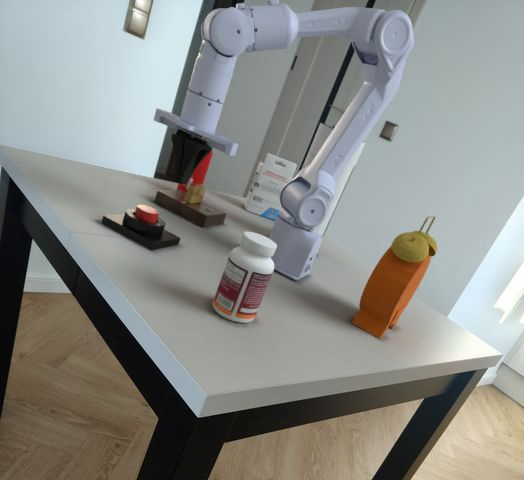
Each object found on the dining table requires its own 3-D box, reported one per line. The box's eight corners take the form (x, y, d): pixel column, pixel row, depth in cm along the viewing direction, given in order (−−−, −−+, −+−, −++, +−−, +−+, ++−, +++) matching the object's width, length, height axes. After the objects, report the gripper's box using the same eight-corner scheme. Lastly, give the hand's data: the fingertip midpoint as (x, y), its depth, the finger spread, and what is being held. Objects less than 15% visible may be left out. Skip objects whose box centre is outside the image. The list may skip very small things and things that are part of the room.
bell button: (160, 223, 84) (163, 213, 83) (147, 224, 80) (150, 214, 80) (142, 214, 84) (145, 204, 84) (129, 215, 81) (132, 204, 80)
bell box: (178, 244, 86) (183, 228, 85) (151, 250, 79) (157, 232, 78) (131, 219, 88) (135, 203, 87) (101, 223, 81) (105, 205, 80)
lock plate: (223, 224, 108) (227, 212, 107) (202, 227, 100) (206, 214, 99) (177, 200, 111) (181, 189, 110) (153, 202, 103) (157, 189, 102)
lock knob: (196, 200, 107) (201, 182, 105) (201, 202, 107) (207, 185, 105) (184, 200, 103) (189, 182, 101) (189, 203, 102) (195, 185, 101)
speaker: (316, 260, 111) (370, 141, 100) (272, 243, 110) (321, 120, 99) (314, 248, 121) (363, 137, 110) (274, 231, 120) (319, 118, 108)
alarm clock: (368, 309, 95) (421, 208, 87) (397, 325, 93) (454, 223, 85) (345, 322, 84) (403, 207, 75) (378, 341, 82) (441, 225, 73)
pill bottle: (253, 311, 73) (281, 240, 69) (253, 329, 68) (285, 254, 63) (212, 297, 72) (238, 224, 67) (209, 314, 67) (238, 237, 62)
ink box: (273, 215, 135) (294, 161, 128) (276, 221, 130) (298, 165, 124) (243, 205, 132) (263, 148, 126) (245, 210, 128) (266, 152, 122)
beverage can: (172, 191, 116) (188, 138, 111) (193, 197, 119) (209, 146, 114) (178, 198, 113) (195, 144, 108) (200, 204, 115) (217, 152, 110)
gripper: (153, 75, 76) (130, 164, 82) (234, 111, 73) (205, 201, 79) (177, 82, 82) (155, 165, 88) (253, 116, 79) (225, 200, 85)
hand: (180, 182), depth 84 cm, fingers closed
